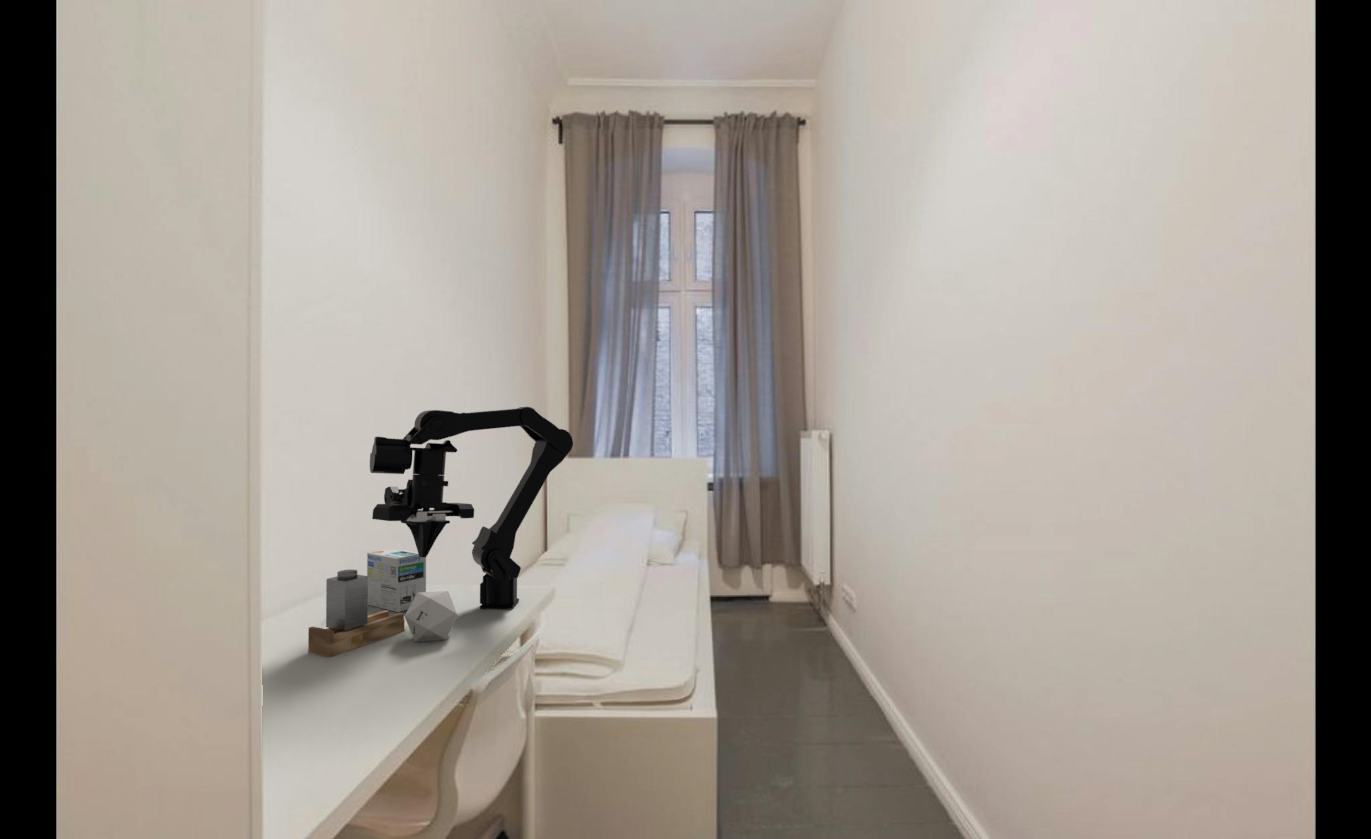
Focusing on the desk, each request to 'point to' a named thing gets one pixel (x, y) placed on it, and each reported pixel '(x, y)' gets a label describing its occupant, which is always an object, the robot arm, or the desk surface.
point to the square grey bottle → (346, 601)
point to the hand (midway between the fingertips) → (422, 557)
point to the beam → (354, 634)
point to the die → (431, 616)
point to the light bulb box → (395, 578)
